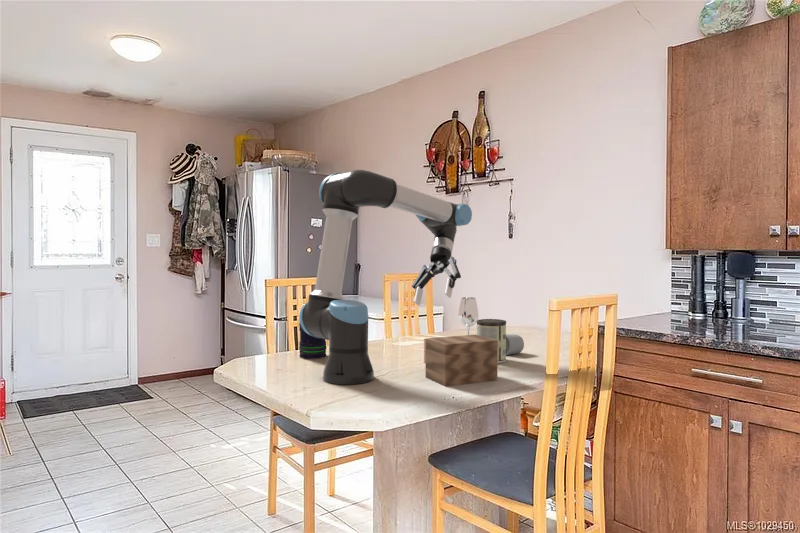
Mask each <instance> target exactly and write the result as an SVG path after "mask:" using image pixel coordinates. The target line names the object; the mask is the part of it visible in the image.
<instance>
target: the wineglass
mask: <svg viewBox="0 0 800 533" xmlns="http://www.w3.org/2000/svg"><path fill="white" fill-rule="evenodd" d="M478 308H479V307H478V304H477V299H476V297H471V296H470V297H468V296H467V297H466V296H465V297H461V298H460V304H459V308H458V315H457V316H458V320H459V322H460V324H462V325H463V326H464V327H466V335H470V328H471V327H473V326H474V325H475V324H477V320H479V309H478Z"/></svg>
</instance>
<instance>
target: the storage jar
mask: <svg viewBox="0 0 800 533" xmlns="http://www.w3.org/2000/svg"><path fill="white" fill-rule="evenodd" d="M298 320H299V319H298ZM298 326H299V345H298V346H299V347H298V349H299V350H298V351H299V358H300V359H304V360H317V359H318V360H319V359H325V358H326V357H327V340H326V339H322V338H315V337H313V336H311V335H309V334H307V333H306V332H305V331H304V330H303V328H302V327H301V324H300V320H299V322H298Z"/></svg>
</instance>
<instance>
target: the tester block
mask: <svg viewBox="0 0 800 533" xmlns="http://www.w3.org/2000/svg"><path fill="white" fill-rule="evenodd" d="M425 339H426V364H425V378H426V379H429V380H430V381H432V382H434V381H435V383H437V384H439V385H441V386H444V387H451V386H452V387H453V386H459V385H467V384H469V385H470V384H477V383H484V382H492V381H498V363H497V359H498V340H494V339H491V338H487V337H483V336H479V335H477V334H469V335H467V334H465V335H453V336H451V335H450V336H440V337H427V338H425Z"/></svg>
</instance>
